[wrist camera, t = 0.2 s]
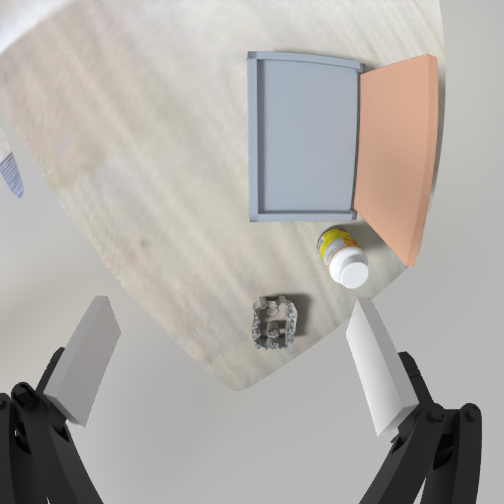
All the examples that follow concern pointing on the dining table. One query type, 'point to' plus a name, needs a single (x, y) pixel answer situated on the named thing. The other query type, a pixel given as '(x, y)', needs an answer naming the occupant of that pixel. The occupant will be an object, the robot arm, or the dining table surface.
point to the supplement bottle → (343, 257)
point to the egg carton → (274, 324)
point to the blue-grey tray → (301, 136)
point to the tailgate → (398, 151)
